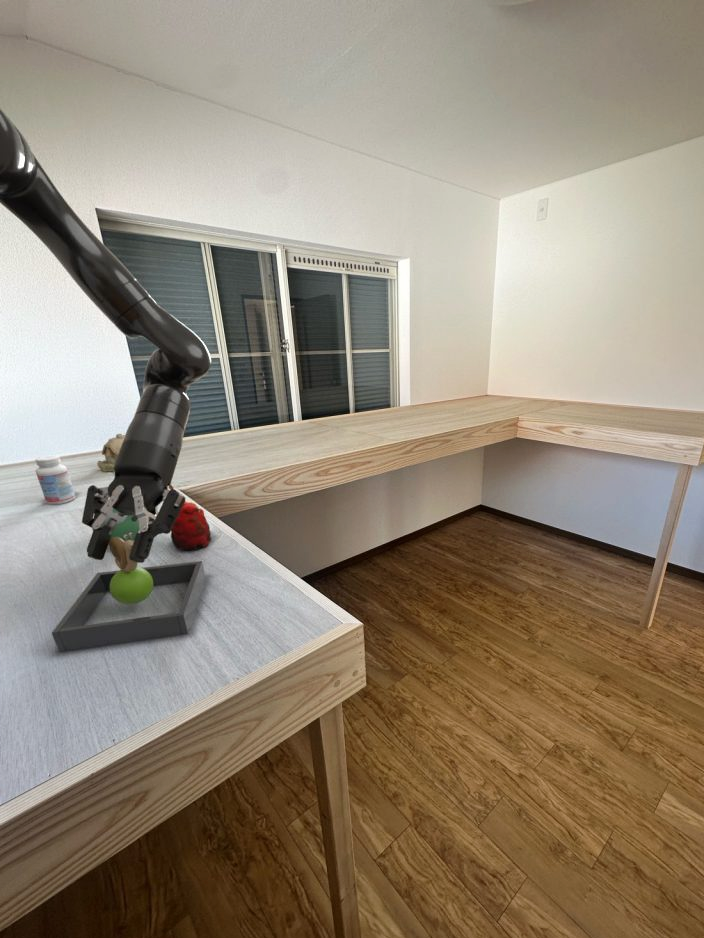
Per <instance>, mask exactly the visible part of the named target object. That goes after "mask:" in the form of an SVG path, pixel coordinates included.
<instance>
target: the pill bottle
mask: <svg viewBox="0 0 704 938" xmlns="http://www.w3.org/2000/svg"><path fill="white" fill-rule="evenodd" d="M34 460H35V463H36V465H37V466H38V467H37V468H36V470H35V474H36V477H37V480H38V483H39V486H40V488H41V492H42V494H43V497H44V500H45V502H46V504H48V505H62V504H67V503H69V502H71V501H73V500H75V499H76V497H77V496H76V493H75V490H74V487H73V483H72V481H71V478H70V474H69V471H68V468H67V467H66V466H65V464H62V463H61V458H60V456H59V455H57V454H49V455H41V456H39V457H36V458H35V459H34Z"/></svg>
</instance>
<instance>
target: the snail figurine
mask: <svg viewBox="0 0 704 938" xmlns="http://www.w3.org/2000/svg"><path fill="white" fill-rule="evenodd" d="M128 536H129V537H131V539H132V536H133V534H132V533H129V534H128V535H124V536H123V538H124V539H126V541H124V540H123V539H121V538H119V537H113V538H112V539H110V541H109V544H108V548H109V551H110V553H111V555H112V556H113V557H114V563H115V565H116V567H117V568H118V569H119V570H120V571H119V570H117V571H118V572H117V573H116V574H115V575H114V576H113V578H112V579H111V582H110V594H111V596H112V598H113V599H114V600H115V601H117V602H118V603H121V604H124V605H136V604H139V603H141V602H143V601H145V600H146V599H147V598H148V597H149V596H150V594H151V593H152V591H153V589H154V586H153V579H152V576H151V575H150V573H149V572H148V571H146V570H145V569H143V568H144V567H140V566H138V563H137V562H134V561H132V560H130V558H129V556H130V553H131V549H132V546H133V543H134V541H133V540H127V538H128Z"/></svg>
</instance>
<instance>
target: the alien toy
mask: <svg viewBox="0 0 704 938" xmlns="http://www.w3.org/2000/svg"><path fill="white" fill-rule="evenodd" d="M113 512H114V513H118V511H116V510H115V509H113ZM110 519H111V518H109V519H108V521H109V520H110ZM108 521H107V522H106V523H105V524H107V523H108ZM129 533H132V534H133V536H132V539H131V537H129V536H128V538H127V540H133V542H134V540H135V537H136V534H137V533H140V530H139V522H138V518H137V516H136V515H131V516H129V515H128V516H127V517H126V519H125V520H124V521H123V522H120V523H119V524H118V525H117V526H116V527H115V529H114V530H113V531H112V533H111V534H109V535H111V538H110V539H112V538H113V537H119V538H121V539H123V540H124V541H126V539H124V538H123V536H124V535H128V534H129Z"/></svg>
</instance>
